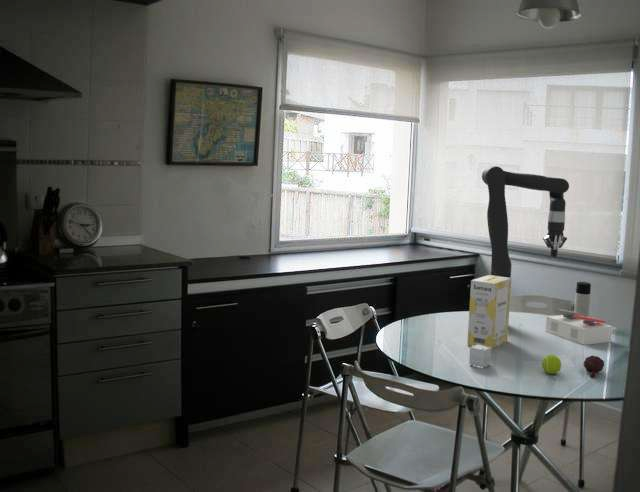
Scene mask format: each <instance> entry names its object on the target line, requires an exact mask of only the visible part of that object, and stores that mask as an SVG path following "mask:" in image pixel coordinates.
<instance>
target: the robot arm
mask: <svg viewBox="0 0 640 492" xmlns="http://www.w3.org/2000/svg"><path fill="white" fill-rule="evenodd" d="M481 179H482V181H483V183H484V184H485V185H487V188H488V206H487V210H486V211H487V212H486V217H487V218H486V220H487V221H486V222H487V228H488V229H487V230H488V235H489V241H490V245H491V261H490V262H491V263H490V267H491V268H490V275H493V276H501V277H508V278H511V279H512V277H511V276H512V260H511V259H510V254H509V250H508V248H509V247H508V242H509V220H508V210H507V208H508V207H507V202H506V201H507V200H506V186H512V187H517V188H523V189H527V190H533V191H539V192H540V191H543V192H544V191H545V192H549V200H550V201H549V211H548V217H547V231H548V232H547V234H546V236H545V237H543V238H542V240H543V242H544V244H545V246H546V247H547V248H548V249H550V257H551V258H557V257H558V250H559V249H561V248H563V245H564V244H565V243H566V241H567V239H568V237H567V236H565V235H564V231H565V224H566V200H565V198H564V197H565V195H564V194H565V193H566V192H568V191H569V189H570V184H569V182H568V181H567V180H566V179H565V178H560V177H550V176H549V177H548V176H545V175H541V174H540V175H539V174H533V173H532V174H531V173H518V172H511V171H507V170H503V168H502V167H500V166H497V165H494V166H493V165H491V166H488V167H486V168H484V170H483V171H482V173H481Z"/></svg>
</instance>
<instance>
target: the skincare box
mask: <svg viewBox="0 0 640 492" xmlns="http://www.w3.org/2000/svg"><path fill="white" fill-rule="evenodd" d="M491 354H492V349H491V347H487V346H482V345H478V344H477V345H475V346H470V348H469V359H468V360H469V361H468V363H469V364H471V365H475V366H480V367H485V366H487V367H489V366H491ZM469 364H468V365H469ZM488 365H489V366H488ZM485 368H486V367H485Z"/></svg>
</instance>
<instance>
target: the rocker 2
mask: <svg viewBox="0 0 640 492" xmlns="http://www.w3.org/2000/svg"><path fill="white" fill-rule="evenodd" d="M573 317H575V318H579V319H582V320H587V321H591V322H598V323H603V324H606V320H603V319H600V318H598V317H597V318H596V317H590V316H588V317H586V316H581V315H576V314H574V316H573Z"/></svg>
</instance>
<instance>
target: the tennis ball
mask: <svg viewBox="0 0 640 492" xmlns="http://www.w3.org/2000/svg"><path fill="white" fill-rule="evenodd" d="M541 368H542V370H543V371H544V372H545V373H546V374H549V375H554V374H557V373H559V372H560V371H561V369H562V361H561V359H560V358H559V357H558V356H556V355H554V354H551V355H550V354H549V355H546V356H544V358H543V359H542V361H541Z"/></svg>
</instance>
